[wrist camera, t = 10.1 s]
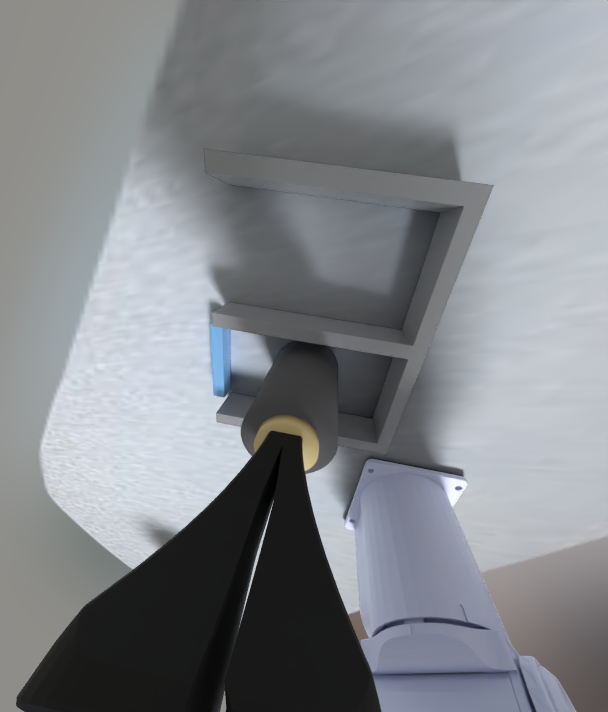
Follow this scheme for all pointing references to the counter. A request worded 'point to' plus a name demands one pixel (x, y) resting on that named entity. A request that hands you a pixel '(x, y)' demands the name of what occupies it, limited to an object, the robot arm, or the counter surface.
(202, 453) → the counter surface
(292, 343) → the plug
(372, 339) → the grey divided frame
